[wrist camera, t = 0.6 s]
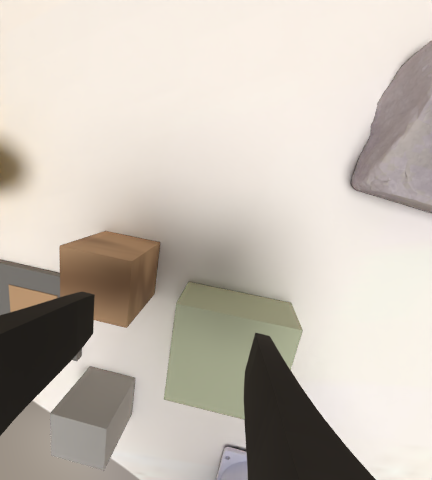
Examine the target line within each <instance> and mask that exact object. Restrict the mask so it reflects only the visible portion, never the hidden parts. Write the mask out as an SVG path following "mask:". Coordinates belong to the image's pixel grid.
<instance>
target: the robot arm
mask: <svg viewBox="0 0 432 480" xmlns="http://www.w3.org/2000/svg"><path fill="white" fill-rule="evenodd" d="M94 298H95V294H91V293H86V292H77V293H73V294H70V295H66V296H63V297H59V298H56V299H53V300H50V301H46V302H43V303H40V304H37V305H33V306H30V307H27V308H24V309H20V310H17V311H13V312H10V313H6V314H3V315H0V435H1V434H2V433H3V432H4V431H5V430H6V429H7V427H8V426H9V425H10V424H11V423H12V421H13V420H14V419H15V418H16V417H17V416H18V415H19V414H20V413H21V412H22V411H23V409H24V408H25V407H26V406H27V405H28V404H29V403H30V402H31V401H32V400H33V399H34V398H35V397H36V396H37V395H38V394H39V393H40V392H41V391H42V390H43V389H44V388H45V387H46V386H47V385H48V384H49V383H50V382H51V381H52V380H53V379H54V378H55V377H56V376H57V375H58V374H59V373H60V372H61V371H62V370H63V368H64V367H65V366H66V365H67V364H68V363H69V362H70V361H71V360H72V359H73V358H74V357H75V356H76V355H77V354H78V352H79V351H80V350H81V349H82V347H83V346H84V345H85V343H86V342H87V341H88V339H89V338H90V337H91V335H92V334H93V321H94ZM244 416H245V434H246V451H242V450H239V449H235V448H231V447H226V448H224V451H223V455H222V459H221V463H220V467H219V470H218V474H217V478H216V480H376V479H375V478H374V477H373V476H372V475H371V474H370V473H369V472H368V471H367V469H366V468H365V467H364V466H363V465H362V464H361V463H360V462H359V461H358V459H357V458H356V457H355V456H354V455H353V454H352V452H351V451H350V450H349V449H348V448H347V447H346V445H345V444H344V443H343V442H342V441H341V439H340V438H339V437H338V436H337V434H336V433H335V432H334V431H333V429H332V428H331V427H330V426H329V424H328V423H327V422H326V421H325V419H324V418H323V417H322V415H321V414H320V413H319V411H318V410H317V409H316V407H315V406H314V405H313V403H312V402H311V400H310V399H309V398H308V396H307V395H306V393H305V392H304V390H303V389H302V388H301V386H300V385H299V383H298V381H297V380H296V378H295V377H294V375H293V374H292V372H291V371H290V369H289V367H288V366H287V364H286V362H285V361H284V359H283V357H282V356H281V354H280V352H279V351H278V349H277V347H276V345H275V344H274V342H273V340H272V339H271V337H270V336H268V335H264V334H259V333H255V336H254V339H253V343H252V347H251V350H250V354H249V358H248V362H247V365H246V369H245V378H244Z"/></svg>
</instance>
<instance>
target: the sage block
mask: <svg viewBox="0 0 432 480" xmlns="http://www.w3.org/2000/svg"><path fill="white" fill-rule="evenodd" d="M302 331H303V330H302V328H301V325H300V323H299V321H298V318H297V316H296V313H295V311H294V309H293V306H292V304H291V303H289V302H285V301H280V300H275V299H270V298H265V297H260V296H255V295H251V294H246V293H241V292H236V291H231V290H226V289H222V288H217V287H212V286H207V285H202V284H197V283H192V282H188V284H187V285H186V287H185V289H184V291H183V292H182V294H181V296H180V298H179V300H178V301H177V303H176V310H175V317H174V325H173V333H172V340H171V348H170V356H169V363H168V371H167V379H166V386H165V394H164V400H168V401H172V402H176V403H180V404H184V405H188V406H192V407H196V408H200V409H204V410H208V411H212V412H216V413H220V414H224V415H228V416H232V417H236V418H240V419H244V420H245V416H244V378H245V369H246V365H247V362H248V358H249V354H250V350H251V347H252V343H253V339H254V336H255V333H259V334H264V335H268V336H270V337H271V339H272V340H273V342H274V344H275V345H276V347H277V349H278V351H279V352H280V354H281V356H282V357H283V359H284V361H285V362H286V364H287V366H288V367H289V369H290V370H291V366H292V363H293V360H294V357H295V354H296V350H297V347H298V344H299V341H300V337H301V334H302Z"/></svg>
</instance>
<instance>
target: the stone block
mask: <svg viewBox="0 0 432 480" xmlns="http://www.w3.org/2000/svg"><path fill="white" fill-rule="evenodd" d="M351 184H352V186H353V188H354V189H356V190H357V191H361V192H364V193H367V194H371V195H374V196H377V197H381V198H384V199H387V200H390V201H394V202H397V203H401V204H404V205H407V206H410V207H413V208H417V209H420V210H423V211H427V212H430V213H432V41H430V42H429V43H428V44H427V45H425V46H424V47H423V48H422V49H421V50H419V51H418V52H417V53H415V54H414V55H413V56H412V57H411V58H410V59H409V60H408V61H407V62H406V63H405V64H404V65H402V66H401V68H400V69H399V71H398V72H397V73H396V75H395V77H394V79H393V81H392V82H391V84H390V85H389V87H388V88H387V89H386V91H385V92H384V93H383V95H382V97H381V99H380V100H379V102H378V104H377V109H376V113H375V117H374V121H373V123H372V124H371V134H370V137H369V139H368V141H367V144H366V145H365V147H364V148H363V151H362V152H361V154H360V157H359V160H358V162H357V165H356V168H355V172H354V174H353V176H352V183H351Z"/></svg>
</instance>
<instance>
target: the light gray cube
mask: <svg viewBox="0 0 432 480" xmlns="http://www.w3.org/2000/svg"><path fill="white" fill-rule="evenodd" d="M134 387H135V378H134V377H130V376H126V375H122V374H118V373H114V372H110V371H107V370H103V369H99V368H95V367H91V366H90V367H89V368H88V370H87V371H86V372H85V373H84V374H83V375H82V377H81V378H80V379H79V380H78V381H77V382H76V384H75V385H74V386H73V387H72V388H71V389H70V391H69V392H68V393H67V394H66V395H65V396H64V398H63V399H62V400H61V401H60V402H59V404H58V405H57V406H56V407H55V408H54V409H53V411H52V412H51V413H50V425H51V455H52V456H55V457H59V458H62V459H65V460H69V461H72V462H76V463H79V464H82V465H86V466H90V467H93V468H96V469H100V470H103V471H104V470H105V468H106V466H107V463H108V461H109V459H110V457H111V455H112V453H113V451H114V449H115V447H116V445H117V443H118V441H119V439H120V437H121V435H122V433H123V431H124V429H125V427H126V425H127V423H128V421H129V419H130V417H131V415H132V406H133V396H134Z"/></svg>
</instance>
